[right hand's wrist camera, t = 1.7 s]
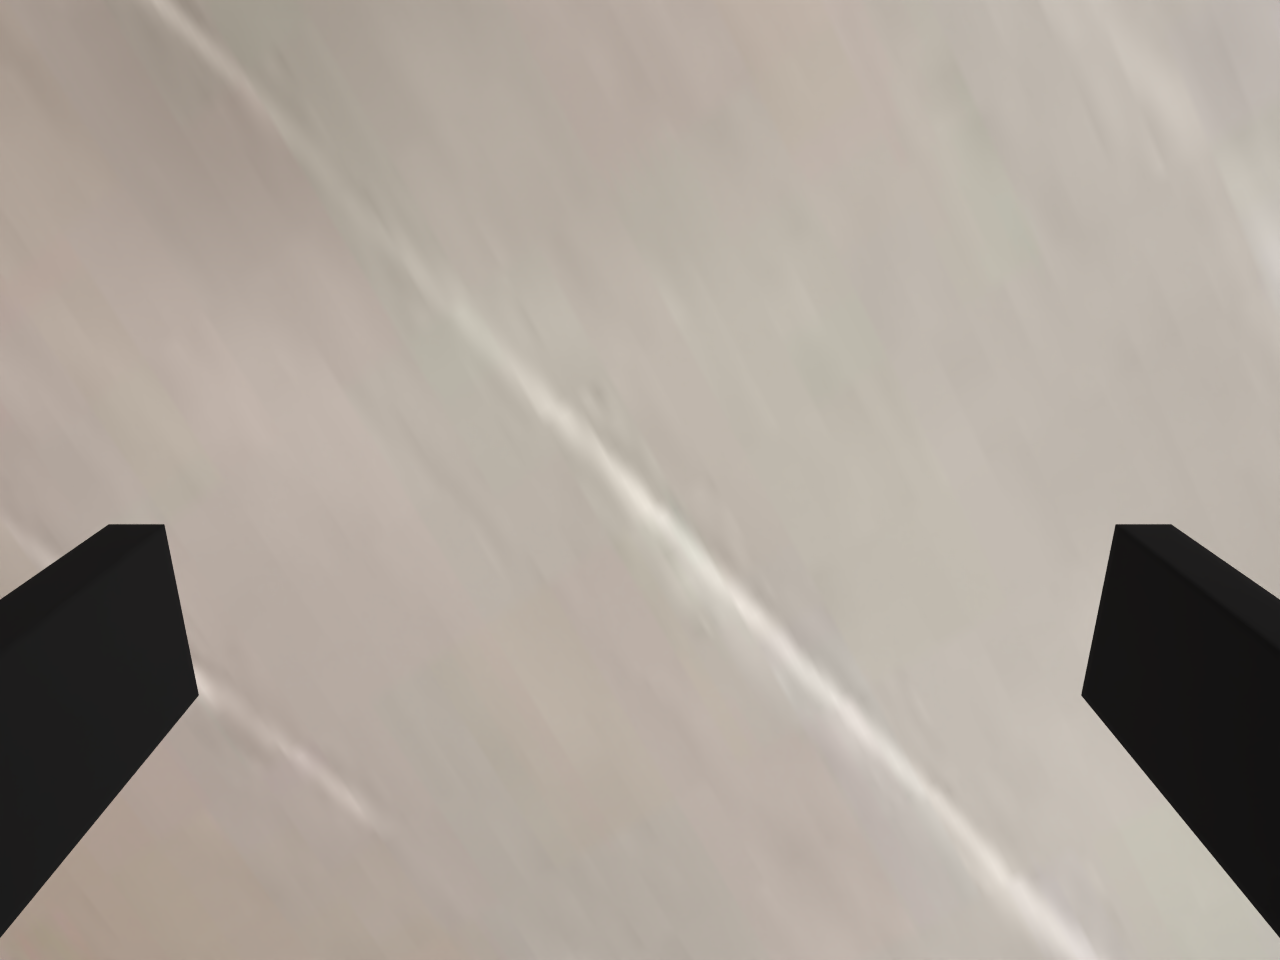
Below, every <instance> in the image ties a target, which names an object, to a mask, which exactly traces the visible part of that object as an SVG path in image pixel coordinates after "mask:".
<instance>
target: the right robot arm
mask: <svg viewBox="0 0 1280 960" xmlns="http://www.w3.org/2000/svg"><path fill="white" fill-rule="evenodd" d="M198 696H199V694H198V689H197V684H196V679H195V674H194V669H193V664H192V659H191V655H190V650H189V645H188V640H187V635H186V630H185V625H184V620H183V615H182V610H181V605H180V600H179V595H178V590H177V585H176V580H175V575H174V570H173V565H172V560H171V555H170V550H169V545H168V540H167V535H166V530H165V525H164V524H109V525H107V526H106V527H104V528H103V529H101V530H100V531H99V532H97V533H96V534H94V535H93V536H91V537H90V538H89V539H87V540H86V541H84V542H83V543H81V544H80V545H78V546H77V547H76V548H74V549H73V550H71V551H70V552H68V553H67V554H65V555H64V556H63V557H61V558H60V559H58V560H57V561H55V562H54V563H52V564H51V565H50V566H48V567H47V568H45V569H44V570H42V571H41V572H39V573H38V574H37V575H35V576H34V577H32V578H31V579H29V580H28V581H26V582H25V583H24V584H22V585H21V586H19V587H18V588H16V589H15V590H13V591H12V592H11V593H9V594H8V595H6V596H5V597H3V598H2V599H1V600H0V937H1V936H2V935H3V934H4V933H5V931H6V930H7V929H8V928H9V926H10V925H11V924H12V923H13V922H14V920H15V919H16V918H17V917H18V915H19V914H20V913H21V912H22V911H23V909H24V908H25V907H26V906H27V904H28V903H29V902H30V901H31V900H32V898H33V897H34V896H35V895H36V893H37V892H38V891H39V890H40V889H41V887H42V886H43V885H44V884H45V882H46V881H47V880H48V879H49V878H50V876H51V875H52V874H53V873H54V871H55V870H56V869H57V868H58V867H59V865H60V864H61V863H62V862H63V860H64V859H65V858H66V857H67V856H68V854H69V853H70V852H71V851H72V849H73V848H74V847H75V846H76V845H77V843H78V842H79V841H80V840H81V838H82V837H83V836H84V835H85V834H86V832H87V831H88V830H89V829H90V827H91V826H92V825H93V824H94V823H95V821H96V820H97V819H98V818H99V816H100V815H101V814H102V813H103V812H104V810H105V809H106V808H107V807H108V805H109V804H110V803H111V802H112V801H113V799H114V798H115V797H116V796H117V794H118V793H119V792H120V791H121V790H122V788H123V787H124V786H125V785H126V783H127V782H128V781H129V780H130V779H131V777H132V776H133V775H134V774H135V773H136V771H137V770H138V769H139V768H140V766H141V765H142V764H143V763H144V762H145V760H146V759H147V758H148V757H149V755H150V754H151V753H152V752H153V751H154V749H155V748H156V747H157V746H158V744H159V743H160V742H161V741H162V740H163V738H164V737H165V736H166V735H167V733H168V732H169V731H170V730H171V729H172V727H173V726H174V725H175V724H176V722H177V721H178V720H179V719H180V718H181V716H182V715H183V714H184V713H185V711H186V710H187V709H188V708H189V707H190V705H191V704H192V703H193V702H194V700H195V699H196V698H197V697H198ZM1081 696H1082V697H1083V698H1084V699H1085V700H1086V702H1087V703H1088V704H1089V705H1090V707H1091V708H1092V709H1093V710H1094V711H1095V713H1096V714H1097V715H1098V716H1099V718H1100V719H1101V720H1102V721H1103V722H1104V724H1105V725H1106V726H1107V727H1108V729H1109V730H1110V731H1111V732H1112V733H1113V735H1114V736H1115V737H1116V738H1117V740H1118V741H1119V742H1120V743H1121V744H1122V746H1123V747H1124V748H1125V749H1126V751H1127V752H1128V753H1129V754H1130V755H1131V757H1132V758H1133V759H1134V760H1135V762H1136V763H1137V764H1138V765H1139V766H1140V768H1141V769H1142V770H1143V771H1144V773H1145V774H1146V775H1147V776H1148V777H1149V779H1150V780H1151V781H1152V782H1153V783H1154V785H1155V786H1156V787H1157V788H1158V790H1159V791H1160V792H1161V793H1162V794H1163V796H1164V797H1165V798H1166V799H1167V801H1168V802H1169V803H1170V804H1171V805H1172V807H1173V808H1174V809H1175V810H1176V812H1177V813H1178V814H1179V815H1180V816H1181V818H1182V819H1183V820H1184V821H1185V823H1186V824H1187V825H1188V826H1189V827H1190V829H1191V830H1192V831H1193V832H1194V834H1195V835H1196V836H1197V837H1198V838H1199V840H1200V841H1201V842H1202V843H1203V845H1204V846H1205V847H1206V848H1207V849H1208V851H1209V852H1210V853H1211V854H1212V856H1213V857H1214V858H1215V859H1216V860H1217V862H1218V863H1219V864H1220V865H1221V867H1222V868H1223V869H1224V870H1225V871H1226V873H1227V874H1228V875H1229V876H1230V878H1231V879H1232V880H1233V881H1234V882H1235V884H1236V885H1237V886H1238V887H1239V889H1240V890H1241V891H1242V892H1243V893H1244V895H1245V896H1246V897H1247V898H1248V900H1249V901H1250V902H1251V903H1252V904H1253V906H1254V907H1255V908H1256V909H1257V911H1258V912H1259V913H1260V914H1261V915H1262V917H1263V918H1264V919H1265V920H1266V922H1267V923H1268V924H1269V925H1270V926H1271V928H1272V929H1273V930H1274V931H1275V933H1276V934H1277V935H1278V936H1279V937H1280V600H1279V599H1278V598H1277V597H1275V596H1274V595H1272V594H1271V593H1269V592H1268V591H1267V590H1265V589H1264V588H1262V587H1261V586H1259V585H1258V584H1256V583H1255V582H1254V581H1252V580H1251V579H1249V578H1248V577H1246V576H1245V575H1243V574H1242V573H1241V572H1239V571H1238V570H1236V569H1235V568H1233V567H1232V566H1230V565H1229V564H1228V563H1226V562H1225V561H1223V560H1222V559H1220V558H1219V557H1217V556H1216V555H1215V554H1213V553H1212V552H1210V551H1209V550H1207V549H1206V548H1204V547H1203V546H1202V545H1200V544H1199V543H1197V542H1196V541H1194V540H1193V539H1191V538H1190V537H1189V536H1187V535H1186V534H1184V533H1183V532H1181V531H1180V530H1178V529H1177V528H1176V527H1174V526H1173V525H1171V524H1116V525H1115V530H1114V535H1113V540H1112V545H1111V550H1110V555H1109V560H1108V565H1107V570H1106V575H1105V580H1104V585H1103V590H1102V595H1101V600H1100V605H1099V610H1098V615H1097V620H1096V625H1095V630H1094V635H1093V640H1092V645H1091V650H1090V655H1089V659H1088V664H1087V669H1086V674H1085V679H1084V684H1083V689H1082V694H1081Z"/></svg>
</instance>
